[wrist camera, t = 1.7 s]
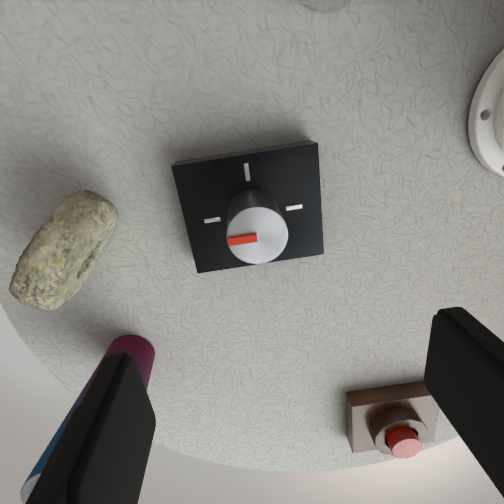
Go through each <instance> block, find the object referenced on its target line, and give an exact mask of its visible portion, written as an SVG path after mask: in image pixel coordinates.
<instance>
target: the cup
mask: <svg viewBox="0 0 504 504" xmlns="http://www.w3.org/2000/svg"><path fill="white" fill-rule="evenodd" d="M123 352H127V353H128V355H129V356H133V357H134V358H135V360H136V363H137V366H138V369H139V371H140V374H141V377H142V380H143V383H144V386H145V388H146V391H147V387H148V383H149V378H150V374H151V370H152V365H153V361H154V356H155V352H154V348H153V346H152V345H151V344H150V343H149V342H148V341H147V340H146V339H144V338H142V337H139V336H135V335H125V336H121V337H119V338H117V339H116V340H114V341H113V343H112V344H111V346H110V347H109V349H108V351H107V352H106V354H105V355H104V357H105V356H106V355H108V354H115V353H123ZM104 357H103V358H102V360H101V362H100V363H99V365H98V366H97V368H96V370H95V371H94V373H93V374H92V376H91V378H90V379H89V381H88V382H87V384H86V386H85V387H84V389H83V390H82V392H81V394H80V395H79V397H78V398H77V400H76V402H75V403H74V405H73V406H72V408H71V410H70V411H69V413H68V414H67V416H66V418H65V419H64V421H63V422H62V424H61V426H60V427H59V429H58V430H57V432H56V433H55V435H54V437H53V438H52V440H51V441H50V443H49V445H48V446H47V448H46V450H45V451H44V453H43V454H42V456H41V457H40V459H39V461H38V462H37V464H36V465H35V467H34V469H33V470H32V472H31V474H30V475H29V477H28V478H27V480H26V481H25V483H24V485H23V486H22V488H21V493H20V494H21V500H22V502H23V504H25V503H26V501H27V499H28V497H29V496H30V494H31V492H32V490H33V488H34V486H35V484H36V482H37V480H38V478H39V476H40V474H41V473H42V471H43V469H44V467H45V465H46V463H47V461H48V459H49V457H50V455H51V453H52V451H53V449H54V448H55V446H56V444H57V442H58V440H59V438H60V436H61V434H62V432H63V430H64V428H65V426H66V424H67V423H68V421H69V419H70V417H71V415H72V413H73V411H74V410H75V408H76V407H77V406H78V405H80V404H81V402H82V400H83V398H84V396H85V394H86V392H87V390H88V388H89V386H90V384H91V382H92V380H93V378H94V376H95V375H96V373H97V371H98V369H99V367H100V365H101V363H102V361H103V359H104Z"/></svg>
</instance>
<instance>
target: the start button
mask: <svg viewBox="0 0 504 504" xmlns="http://www.w3.org/2000/svg"><path fill="white" fill-rule="evenodd" d="M386 441H387V443H388V445H389V448H390V450H391V452H392V454H393V455H394V456H395V457H398V458H408V457H411V456H413V455H415V454H417V453H418V452H419V451H420V449H421V447H422V445H421V442H420V440H419V438H418V437H417V435H416V433H415V431H414V430H413V428H411V427H408V426H404V427H398V428H396V429H394V430H392V431H390V432H389V433H388V434H387V435H386Z"/></svg>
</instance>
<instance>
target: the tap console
mask: <svg viewBox="0 0 504 504" xmlns="http://www.w3.org/2000/svg"><path fill="white" fill-rule="evenodd" d="M171 167H172V171H173V175H174V179H175V183H176V187H177V191H178V195H179V199H180V203H181V208H182V212H183V216H184V220H185V224H186V228H187V232H188V236H189V240H190V244H191V248H192V252H193V256H194V260H195V264H196V269H197V273H203V272H210V271H216V270H223V269H229V268H236V267H242V266H249V265H255V264H251V263H247V262H244V261H242V260H240V259H239V258H237V257H236V256H235V255H234V254H233V253H232V251H231V250H230V248H229V246H228V243H227V220H228V208H229V205H230V203H231V201H232V199H233V198H234V197H235V196H236V195H237V194H238V193H240V192H242V191H244V190H247V189H260V190H263V191H265V192H267V193H269V194H270V195H271V196H272V197H273V198H274V200H275V201H276V203H277V206H278V208H279V210H280V212H281V214H282V216H283V219H284V221H285V223H286V225H287V229H288V240H287V244H286V246H285V248H284V250H283V251H282V252H281V253H280V255H279V256H277V257H276V258H275V259H273V260H271V261H269V262H275V261H281V260H288V259H294V258H301V257H308V256H314V255H321V254H324V249H323V230H322V211H321V192H320V174H319V155H318V143H316V142H313V141H311V140H310V141H304V142H297V143H291V144H284V145H278V146H272V147H265V148H259V149H253V150H246V151H240V152H234V153H227V154H221V155H214V156H208V157H202V158H195V159H189V160H183V161H177V162H175V163H174V164H173V165H172V166H171ZM266 263H268V262H266Z"/></svg>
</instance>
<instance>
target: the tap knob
mask: <svg viewBox="0 0 504 504" xmlns="http://www.w3.org/2000/svg"><path fill="white" fill-rule="evenodd" d="M287 240H288V229H287V225H286V223H285V221H284V219H283V216H282V214H281V212H280V210H279V208H278V206H277V203H276V201H275V200H274V198H273V197H272V196H271V195H270V194H269V193H267V192H265V191H263V190H260V189H247V190H244V191H242V192H240V193H238V194H237V195H236V196H235V197H234V198H233V199H232V201H231V203H230V205H229V208H228V220H227V243H228V246H229V248H230V250H231V251H232V253H233V254H234V255H235V256H236V257H237V258H239V259H240V260H242V261H244V262H247V263H251V264H262V263H266V262H269V261H271V260H273V259H275V258H276V257H277V256H279V255H280V253H281V252H282V251H283V250H284V248H285V246H286V244H287Z"/></svg>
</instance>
